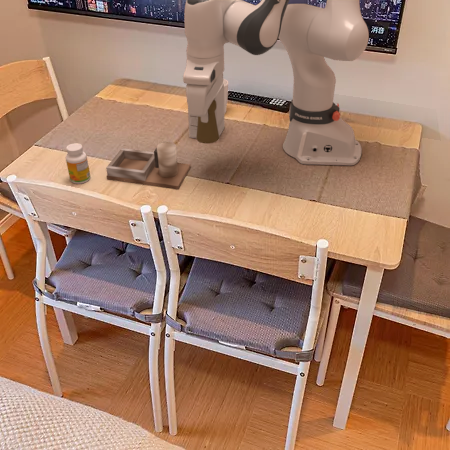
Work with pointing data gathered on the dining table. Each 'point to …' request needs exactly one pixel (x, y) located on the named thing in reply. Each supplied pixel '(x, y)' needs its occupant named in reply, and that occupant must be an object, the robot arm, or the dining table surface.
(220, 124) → the supplement box
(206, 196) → the dining table surface
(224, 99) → the white cup
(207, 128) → the olive brown pawn
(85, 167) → the supplement bottle
